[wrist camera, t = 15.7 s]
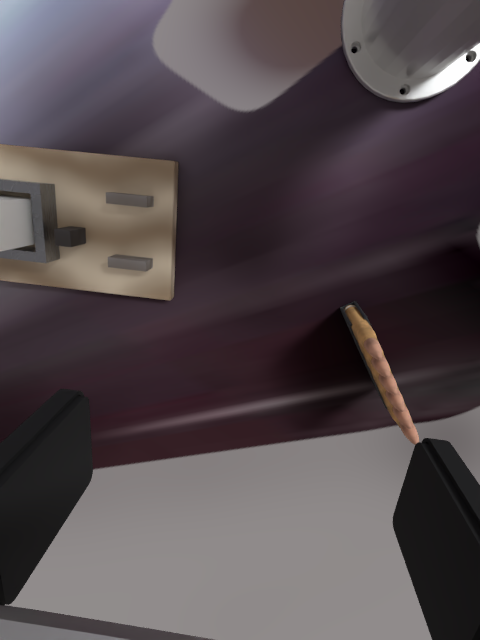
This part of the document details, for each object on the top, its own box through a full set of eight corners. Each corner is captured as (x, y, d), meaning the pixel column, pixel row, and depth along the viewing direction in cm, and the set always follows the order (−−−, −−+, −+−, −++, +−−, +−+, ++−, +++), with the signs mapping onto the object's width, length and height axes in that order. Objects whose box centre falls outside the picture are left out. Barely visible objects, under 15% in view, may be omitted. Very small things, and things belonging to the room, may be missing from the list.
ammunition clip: (339, 307, 40) (364, 352, 29) (355, 300, 39) (387, 343, 28) (374, 386, 43) (410, 456, 31) (390, 380, 42) (432, 449, 31)
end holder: (-18, 176, 37) (-37, 175, 35) (54, 184, 37) (39, 183, 34) (-8, 251, 40) (-25, 254, 37) (60, 259, 39) (46, 263, 37)
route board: (-13, 143, 38) (-50, 137, 33) (178, 162, 36) (165, 158, 32) (4, 276, 42) (-26, 286, 38) (173, 296, 41) (162, 308, 37)
